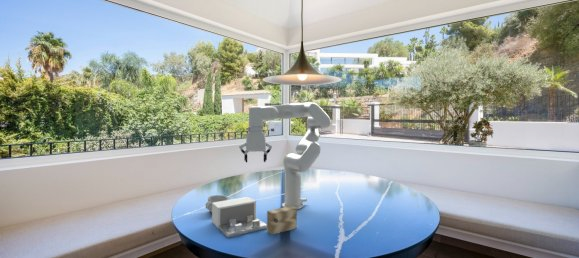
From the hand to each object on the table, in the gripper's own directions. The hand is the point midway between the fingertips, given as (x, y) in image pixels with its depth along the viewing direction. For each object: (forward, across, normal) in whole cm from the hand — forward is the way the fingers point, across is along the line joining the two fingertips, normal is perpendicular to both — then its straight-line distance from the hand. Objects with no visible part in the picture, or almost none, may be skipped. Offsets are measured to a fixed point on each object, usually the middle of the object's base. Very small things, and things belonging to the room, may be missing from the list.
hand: (255, 161), depth 151 cm
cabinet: (+29, -11, -6) cm, 32 cm away
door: (+29, +11, -21) cm, 37 cm away
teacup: (+30, -21, +9) cm, 37 cm away
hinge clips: (+29, -7, -15) cm, 34 cm away
